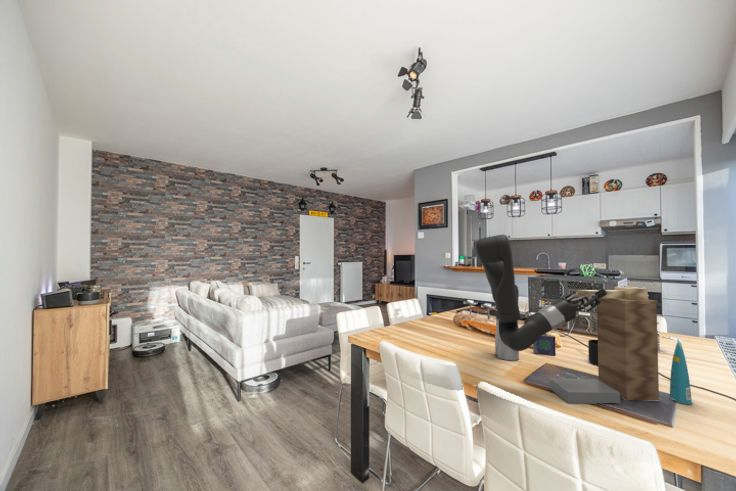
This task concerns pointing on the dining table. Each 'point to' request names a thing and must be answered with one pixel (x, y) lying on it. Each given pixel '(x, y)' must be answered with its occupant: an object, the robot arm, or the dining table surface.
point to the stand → (628, 347)
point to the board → (584, 391)
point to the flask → (545, 345)
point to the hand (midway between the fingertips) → (598, 290)
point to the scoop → (619, 293)
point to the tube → (680, 377)
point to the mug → (593, 351)
